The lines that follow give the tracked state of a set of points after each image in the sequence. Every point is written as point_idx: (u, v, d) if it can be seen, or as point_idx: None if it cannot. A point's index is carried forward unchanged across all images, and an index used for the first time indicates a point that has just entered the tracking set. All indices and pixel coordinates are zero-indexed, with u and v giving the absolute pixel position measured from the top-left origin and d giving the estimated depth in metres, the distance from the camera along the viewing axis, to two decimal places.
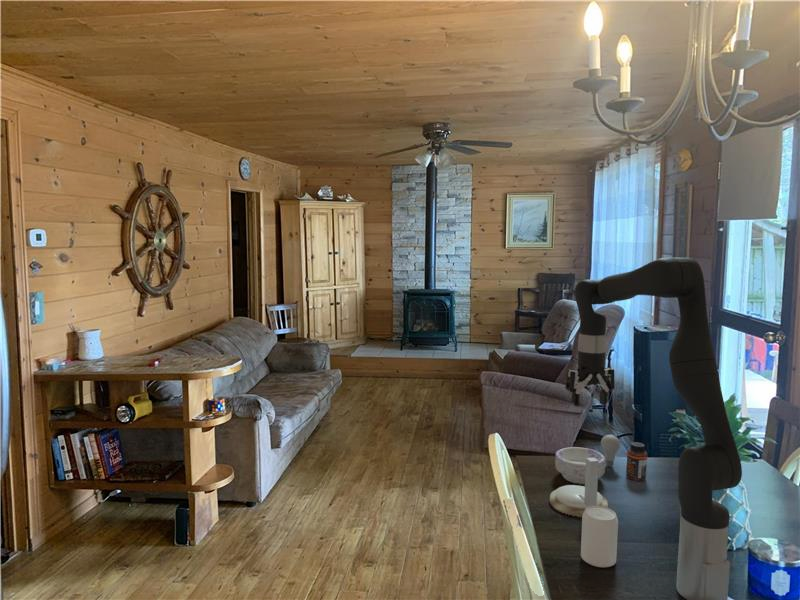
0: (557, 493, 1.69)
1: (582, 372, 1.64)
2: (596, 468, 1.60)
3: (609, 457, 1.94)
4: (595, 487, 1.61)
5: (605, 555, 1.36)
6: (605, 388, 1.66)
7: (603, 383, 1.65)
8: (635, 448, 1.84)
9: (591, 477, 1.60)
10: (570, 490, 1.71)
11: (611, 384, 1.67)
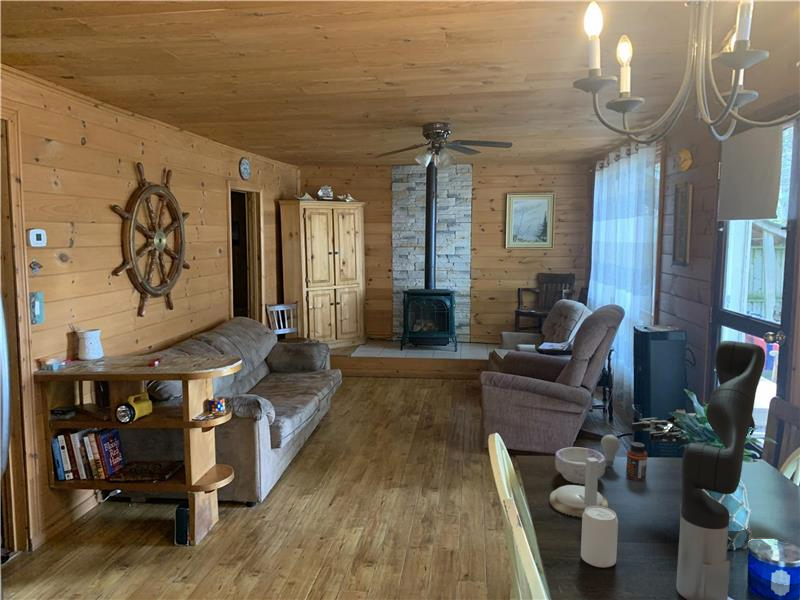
0: (557, 493, 1.69)
1: None
2: (596, 468, 1.60)
3: (609, 457, 1.94)
4: (595, 487, 1.61)
5: (605, 555, 1.36)
6: (664, 430, 1.62)
7: (668, 427, 1.64)
8: (635, 448, 1.84)
9: (591, 477, 1.60)
10: (570, 490, 1.71)
11: (673, 433, 1.61)
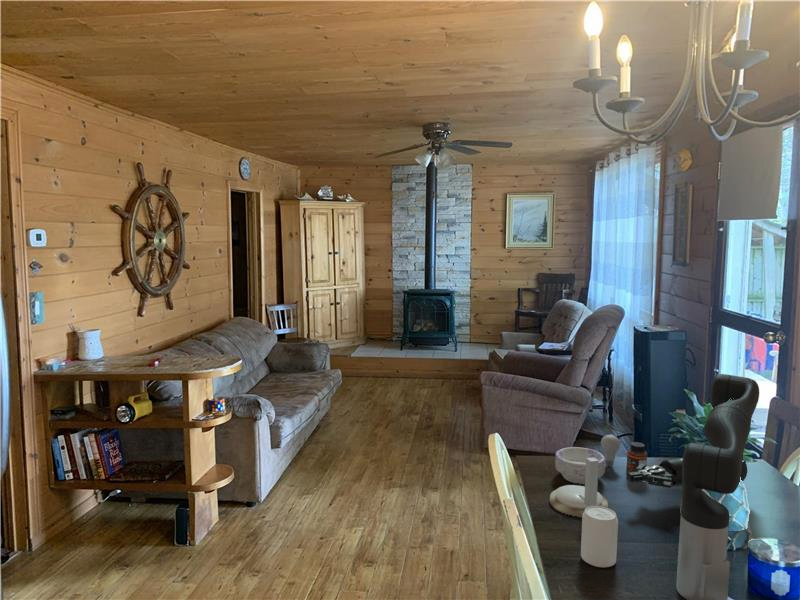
0: (557, 493, 1.69)
1: (653, 465, 1.71)
2: (596, 468, 1.60)
3: (609, 457, 1.94)
4: (595, 487, 1.61)
5: (605, 555, 1.36)
6: (645, 472, 1.66)
7: (653, 471, 1.66)
8: (635, 448, 1.84)
9: (591, 477, 1.60)
10: (570, 490, 1.71)
11: (654, 476, 1.64)
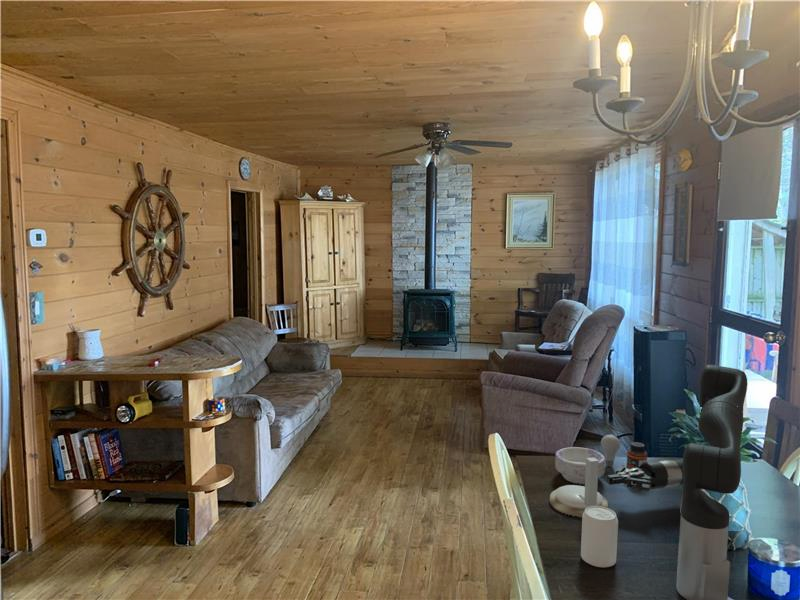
0: (557, 493, 1.69)
1: None
2: (596, 468, 1.60)
3: (609, 457, 1.94)
4: (595, 487, 1.61)
5: (605, 555, 1.36)
6: (623, 474, 1.65)
7: (632, 473, 1.64)
8: (635, 448, 1.84)
9: (591, 477, 1.60)
10: (570, 490, 1.71)
11: (633, 478, 1.62)
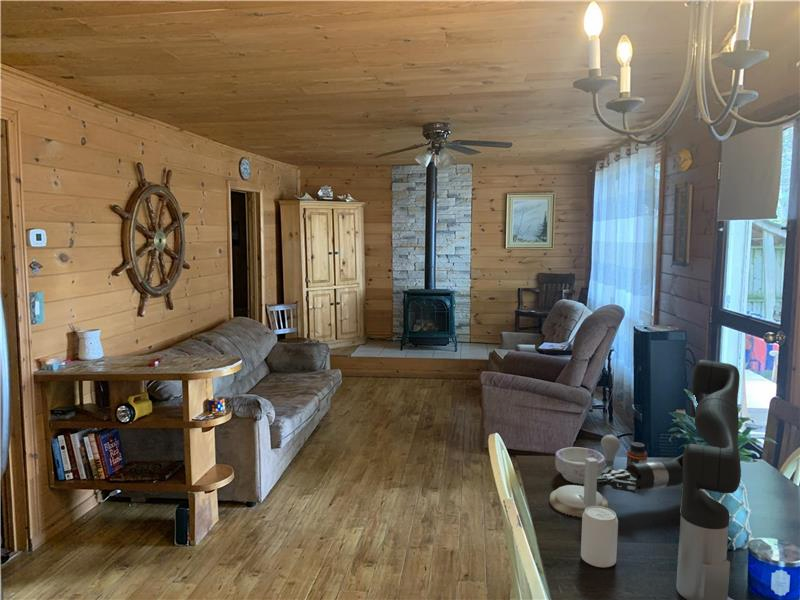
0: (557, 493, 1.69)
1: (619, 469, 1.68)
2: (595, 468, 1.60)
3: (609, 457, 1.94)
4: (594, 487, 1.61)
5: (605, 555, 1.36)
6: (609, 476, 1.63)
7: (617, 475, 1.63)
8: (635, 448, 1.84)
9: (590, 477, 1.60)
10: (570, 490, 1.71)
11: (618, 480, 1.61)
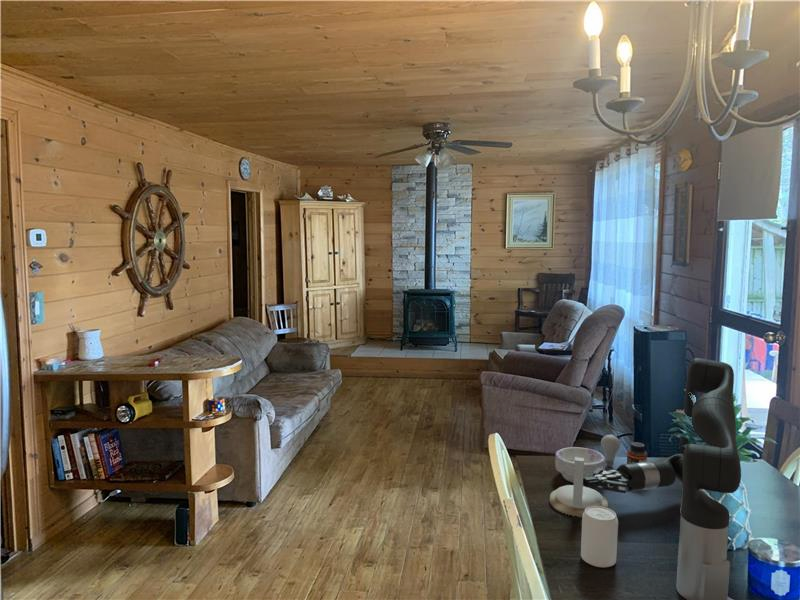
0: (559, 488, 1.72)
1: None
2: (581, 468, 1.60)
3: (609, 457, 1.94)
4: (580, 487, 1.61)
5: (605, 555, 1.36)
6: (600, 477, 1.63)
7: (609, 475, 1.63)
8: (635, 448, 1.84)
9: (575, 476, 1.61)
10: None
11: (609, 481, 1.61)
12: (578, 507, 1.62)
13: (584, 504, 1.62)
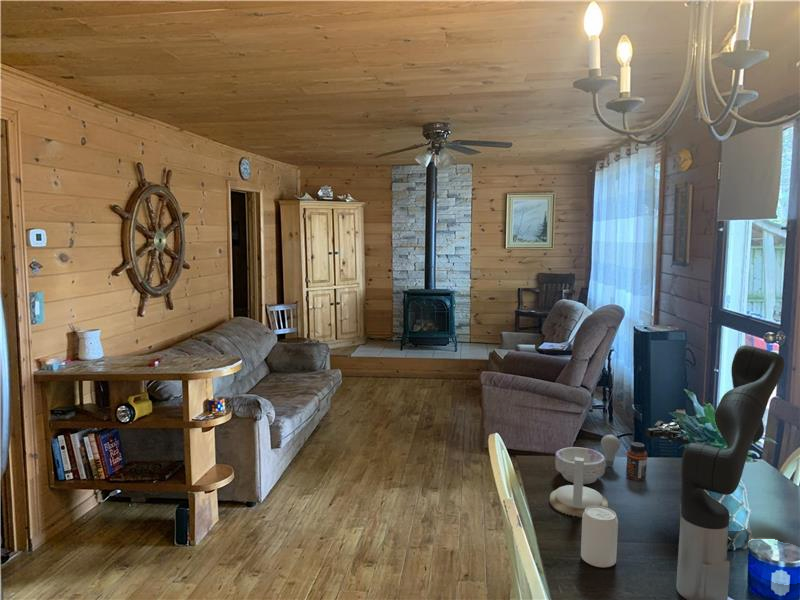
0: (559, 488, 1.72)
1: None
2: (581, 468, 1.60)
3: (610, 457, 1.94)
4: (580, 487, 1.61)
5: (605, 555, 1.36)
6: (663, 428, 1.64)
7: (672, 427, 1.64)
8: (635, 448, 1.84)
9: (575, 476, 1.61)
10: None
11: (673, 431, 1.62)
12: (578, 507, 1.62)
13: (584, 504, 1.62)
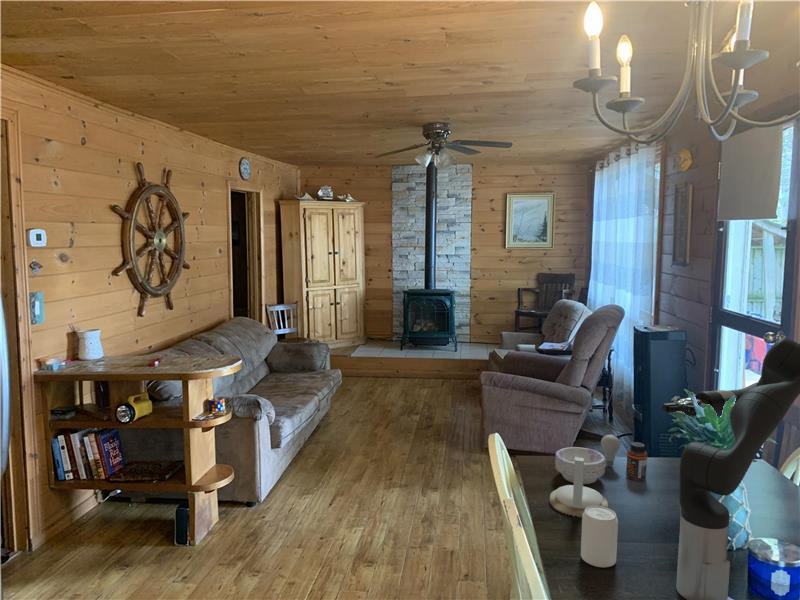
0: (559, 488, 1.72)
1: None
2: (581, 468, 1.60)
3: (609, 457, 1.94)
4: (580, 487, 1.61)
5: (605, 555, 1.36)
6: (680, 403, 1.62)
7: (689, 401, 1.62)
8: (635, 448, 1.84)
9: (575, 476, 1.61)
10: None
11: (690, 405, 1.60)
12: (578, 507, 1.62)
13: (584, 504, 1.62)
